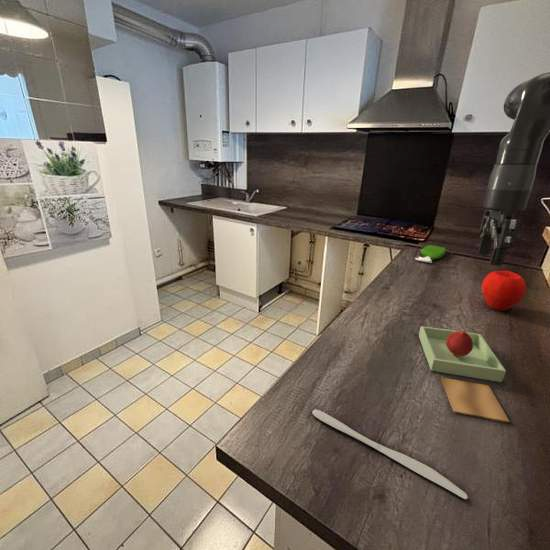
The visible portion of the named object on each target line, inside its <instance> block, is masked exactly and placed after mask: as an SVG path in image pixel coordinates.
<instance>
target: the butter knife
mask: <svg viewBox="0 0 550 550" xmlns="http://www.w3.org/2000/svg"><path fill="white" fill-rule="evenodd" d="M312 415H313V416H314V417H315V418H317V419H318V420H320V421H322V422H323V423H325V424H327V425H328V426H331V428H334V429H336V430H337V431H339V432H342V433H344V434H346V435H348V436H349V437H352V438H354V439H356V440H358V441H359V442H362V443H364V444H365V445H367V446H370V447H371V448H373V449H375V450H377V451H378V452H380V453H382V454H384V455H385V456H387V457H388V458H390V459H392V460H394V461H396V462H398V463H399V464H401V465H402V466H404V467H406V468H408V469H409V470H411V471H412V472H415V473H417V474H418V475H420V476H422V477H423V478H425V479H428V480H429V481H431V482H433V483H435V484H437V485H439V486H441V487H442V488H443V489H446V490H448V491H450V492H451V493H453V494H455V495H456V496H458V497H459V498H462V499H464V500H467V499H468V497H469V496H468V495H467V493H466V492H465V491H463V490H462V489H460V488H459V487H458V486H457V485H455V484H454V483H453V482H451V480H450V479H447V478H446V477H445V476H443V475H442V474H440V473H439V472H437V471H436V470H435V469H433V468H432V467H431V466H428V465H426V464H425V463H422V462H420V461H418V460H417V459H415V458H412V457H410V456H409V455H406V454H404V453H401V452H399V451H396V450H395V449H391V448H388V447H387V446H384V445H382V444H380V443H378V442H376V441H373V440H371V439H369V438H367V437H366V436H364V435H362V434H361V433H359V432H357V431H355V430H354V429H352V428H350V427H349V426H348V425H346V424H344V423H343V422H342V421H339V420H338V419H336V418H334V417H333V416H331V415H329V414H327V413H326V412H324V411H322V410H320V409H316V408H315V409H313V410H312Z"/></svg>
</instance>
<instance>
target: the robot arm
mask: <svg viewBox="0 0 550 550" xmlns="http://www.w3.org/2000/svg"><path fill="white" fill-rule="evenodd" d="M503 112H504V115H506V116H507V118H509V119H511V120H514V121H513V123H512V126H511V129H510V131H509V132H508V133H507V134H506V135H505V136H503V138H502V139H501V141H500V143H499V146H498V148H497V153H496V157H495V161H494V165H493V168H492V170H491V173H490V176H489V179H488V183H487V187H486V191H485V195H484V199H483V202H482V207H483V209H485V210H484V211H483V214H482V215H483V216H482V218H481V223H480V227H479V229H478V234H479V235H480V243H479V246H478V250H477V253H478V254H479V255H483V256H488V255H489V254H490V253H491V249H492V246H493V249H492V253H491V256H490V260H489V264H490V265H491V266H498V267H499V266H500V267H501V266H503V264H504V260H505V257H506V254H507V251H508V250H510V249H511V250H512V249H514V248H515V245H516V241H517V238H518V234H519V231H520V226H521V224H522V220H521V219H519V218H518V219H517V218H515V213H516V212H524V211H525V210H526V209H527V205H528V202H529V199H530V195H531V191H532V189H533V186H534V185H533V184H534V182H535V179H536V174H537V168H538V163H539V160H540V157H541V154H542V150H543V145H544V142H545V140H546V138H547V137H548V135H549V133H550V71H549V72H543V73H540V74H538V75H536V76H534V77H532V78H530V79H528V80H526V81H523V82H521V83H519V84H517V86H515V87H514V88H513V89H511V91H510V92H509V93H508V94H507V96H506V97H505V99H504V102H503Z"/></svg>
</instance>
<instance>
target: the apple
mask: <svg viewBox="0 0 550 550" xmlns="http://www.w3.org/2000/svg"><path fill="white" fill-rule="evenodd" d="M526 288H527V283H526V281H525V278H523V277H522V276H521V275H520V274H518V273H515V272H513V271H509V270H496V271H495V270H494V271H491V272H490V273H488V274H487V275H486V276H485V278H484V279H483V281H482V283H481V292H482V296H483V298H484V300H485V302H486V304H487V305H488V307H490V308H491V309H493V310H495V311H499V312H501V311H502V312H503V311H506V310H508V309H510V308H512V307H514V306H515V305H517V304H519V303H520V302H521V301H522V300H523V298H524V297H525V294H526V291H527V290H526Z"/></svg>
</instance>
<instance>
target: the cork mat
mask: <svg viewBox="0 0 550 550" xmlns="http://www.w3.org/2000/svg"><path fill="white" fill-rule="evenodd" d="M440 380H441V383H442V386H443V388H444V391H445V393H446V397H447V398H448V399H447V400H448V401H449V404H450V407H451V409H452V412H453V413H455V414H460V415H465V416H470V417H476V418H481V419H486V420H491V421H496V422H502V423H508V424H510V420H509V418H508V416H507V414H506V413H505V411H504V409H503V407H502V406H501V403H500V402H499V399H498V398H497V397H496V395H495V393H494V392H493V389H492V388H491V386H490V385H488V384H482V383H476V382H470V381H464V380H459V379H458V380H457V379H452V378H448V377H440Z"/></svg>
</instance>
